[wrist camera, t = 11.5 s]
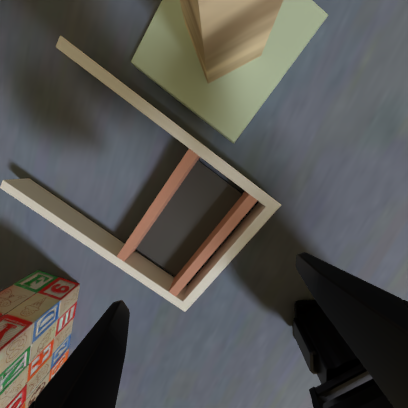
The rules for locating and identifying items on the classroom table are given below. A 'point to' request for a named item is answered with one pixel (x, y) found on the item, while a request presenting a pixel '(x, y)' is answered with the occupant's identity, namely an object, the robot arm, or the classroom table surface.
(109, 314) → the robot arm
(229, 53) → the maple block
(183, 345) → the classroom table surface
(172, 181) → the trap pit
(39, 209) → the channel
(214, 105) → the green pad
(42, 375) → the stack of blocks
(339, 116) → the classroom table surface
